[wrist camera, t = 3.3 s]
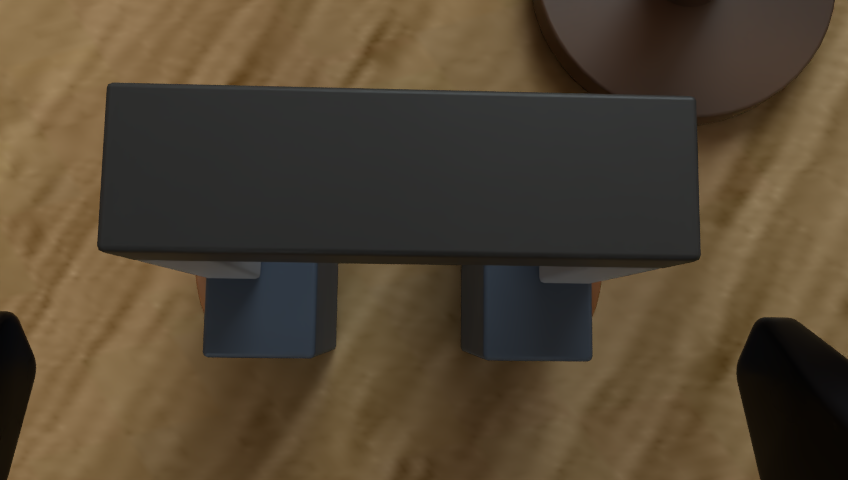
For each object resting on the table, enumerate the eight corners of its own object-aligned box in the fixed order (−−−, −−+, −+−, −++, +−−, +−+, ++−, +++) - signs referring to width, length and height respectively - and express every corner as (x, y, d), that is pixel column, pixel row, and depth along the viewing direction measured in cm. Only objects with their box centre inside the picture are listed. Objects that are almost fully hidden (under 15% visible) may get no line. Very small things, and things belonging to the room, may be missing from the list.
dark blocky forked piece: (559, 352, 18) (741, 383, 9) (235, 348, 18) (49, 376, 8) (557, 158, 19) (727, -17, 9) (243, 152, 19) (77, -36, 9)
